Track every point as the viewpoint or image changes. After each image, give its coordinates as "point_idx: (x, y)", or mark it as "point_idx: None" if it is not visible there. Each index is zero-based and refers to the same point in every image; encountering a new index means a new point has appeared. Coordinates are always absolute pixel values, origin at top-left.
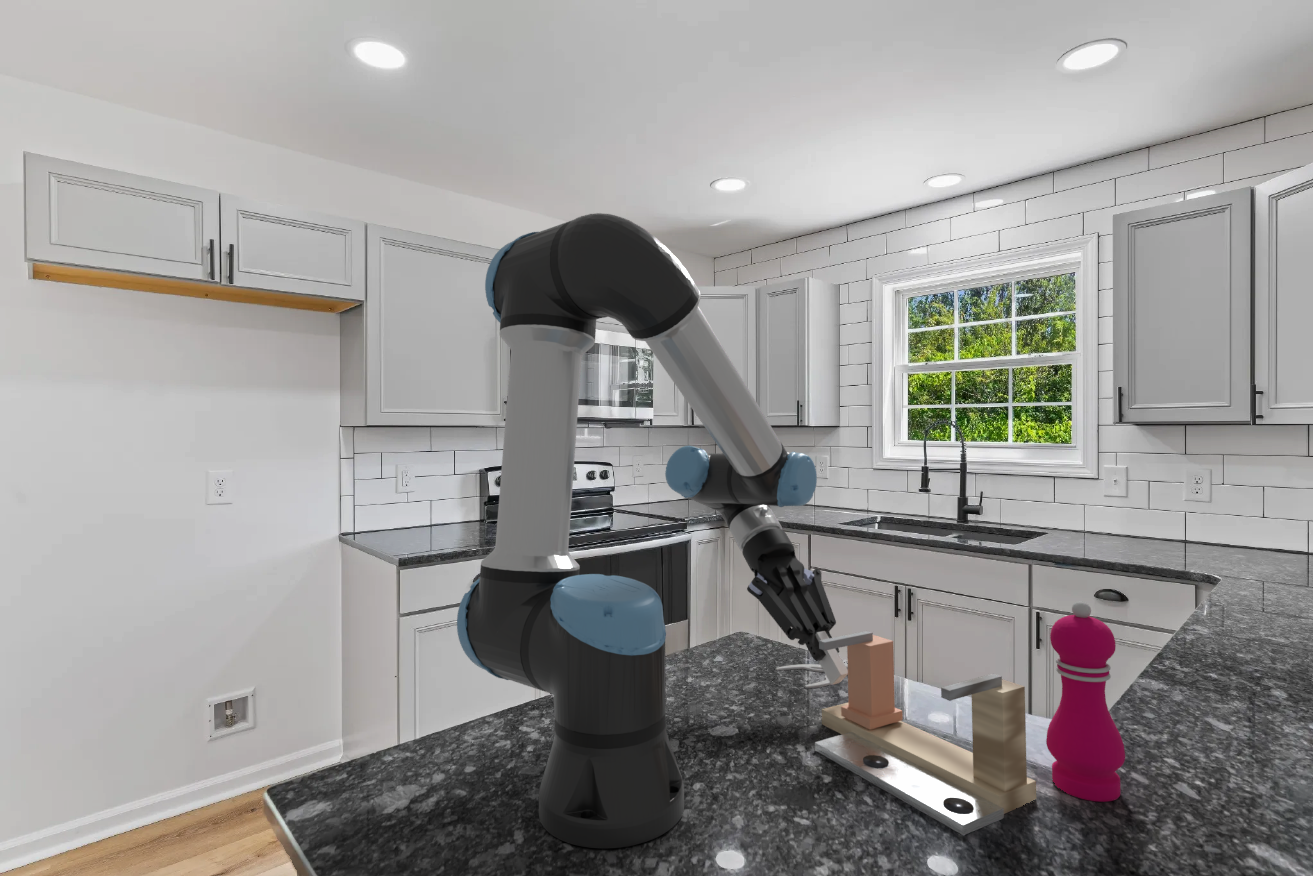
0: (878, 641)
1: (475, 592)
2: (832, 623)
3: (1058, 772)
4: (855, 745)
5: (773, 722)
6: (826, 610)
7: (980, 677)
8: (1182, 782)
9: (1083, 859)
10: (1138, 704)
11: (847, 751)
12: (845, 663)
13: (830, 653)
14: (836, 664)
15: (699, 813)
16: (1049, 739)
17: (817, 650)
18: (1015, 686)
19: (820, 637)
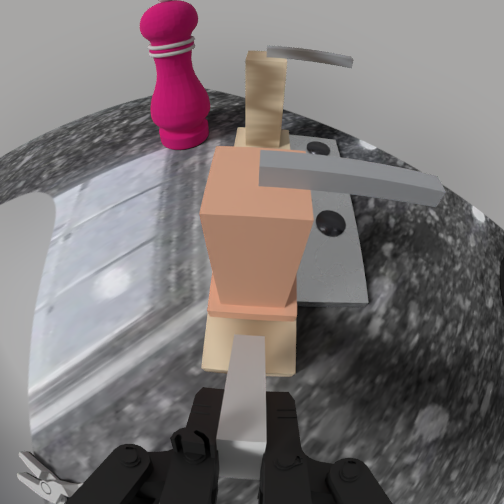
0: (252, 159)
1: None
2: (140, 452)
3: (202, 129)
4: (322, 265)
5: (356, 423)
6: (110, 501)
7: (291, 49)
8: (130, 124)
9: (284, 112)
10: (4, 198)
11: (345, 258)
12: (54, 492)
13: (258, 376)
14: (260, 352)
15: (491, 263)
16: (199, 110)
17: (290, 407)
18: (257, 51)
19: (262, 423)
